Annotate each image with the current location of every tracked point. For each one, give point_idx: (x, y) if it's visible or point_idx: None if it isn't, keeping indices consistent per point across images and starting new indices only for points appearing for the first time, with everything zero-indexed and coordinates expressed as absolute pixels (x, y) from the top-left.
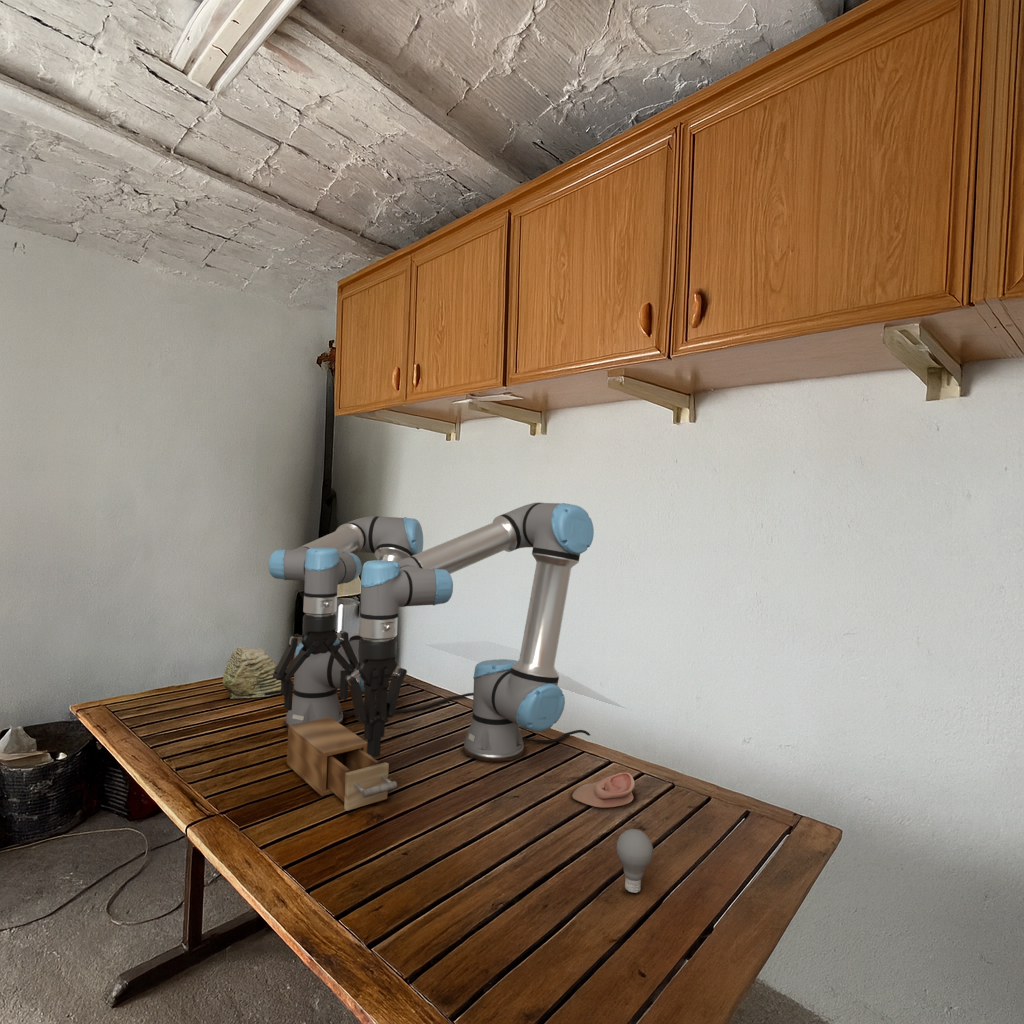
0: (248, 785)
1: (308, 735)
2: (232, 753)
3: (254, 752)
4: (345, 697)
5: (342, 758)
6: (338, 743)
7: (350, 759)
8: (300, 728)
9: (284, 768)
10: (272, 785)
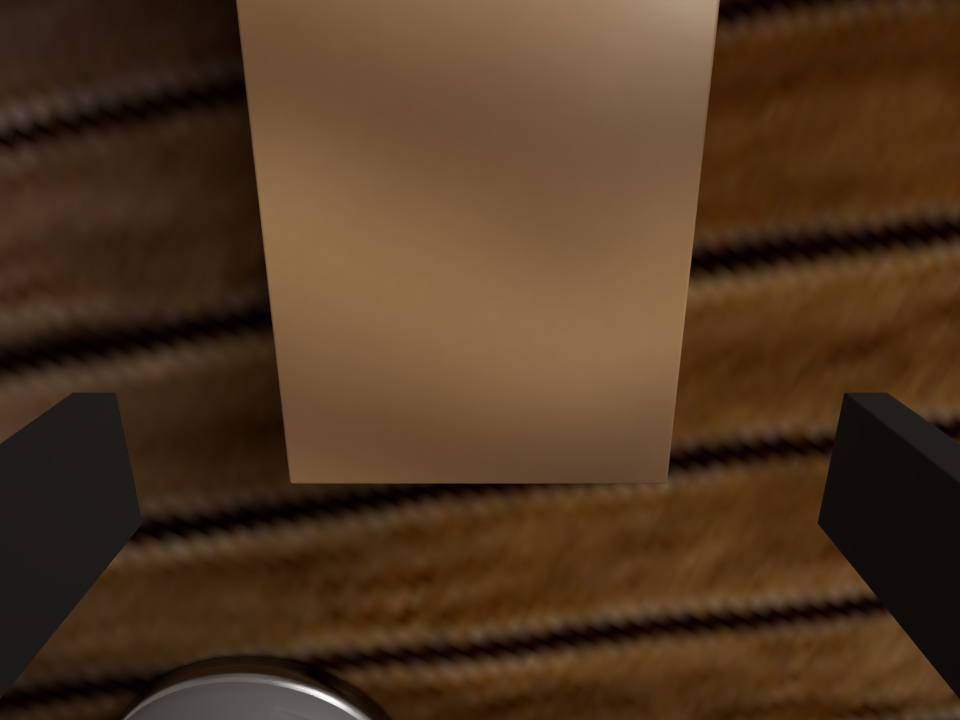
0: (901, 217)
1: (645, 158)
2: (762, 628)
3: (673, 589)
4: (83, 407)
5: None
6: None
7: None
8: (620, 364)
9: None
10: (803, 135)
